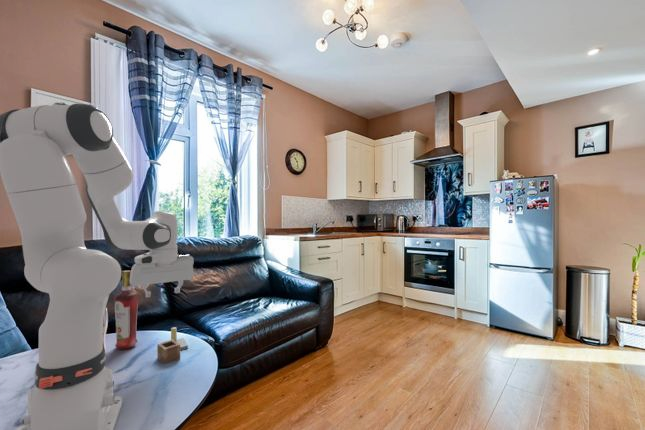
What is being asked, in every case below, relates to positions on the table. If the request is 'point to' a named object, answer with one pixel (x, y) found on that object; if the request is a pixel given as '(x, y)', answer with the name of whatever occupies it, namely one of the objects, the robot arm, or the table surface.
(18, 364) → the table surface
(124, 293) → the liquor
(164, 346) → the collar
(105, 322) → the beer glass
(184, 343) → the post stand
